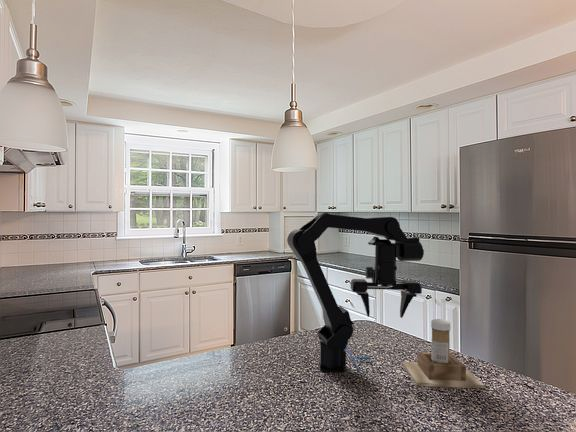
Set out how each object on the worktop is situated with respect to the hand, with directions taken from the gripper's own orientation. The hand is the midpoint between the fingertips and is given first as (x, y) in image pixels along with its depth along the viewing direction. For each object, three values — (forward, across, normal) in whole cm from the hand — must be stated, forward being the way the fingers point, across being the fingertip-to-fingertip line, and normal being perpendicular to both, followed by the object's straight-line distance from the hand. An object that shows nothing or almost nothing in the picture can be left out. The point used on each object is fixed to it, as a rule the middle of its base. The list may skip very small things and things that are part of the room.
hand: (384, 316), depth 102 cm
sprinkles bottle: (+12, -13, +7) cm, 19 cm away
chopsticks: (+14, +6, -4) cm, 16 cm away
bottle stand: (+13, -13, +7) cm, 20 cm away
